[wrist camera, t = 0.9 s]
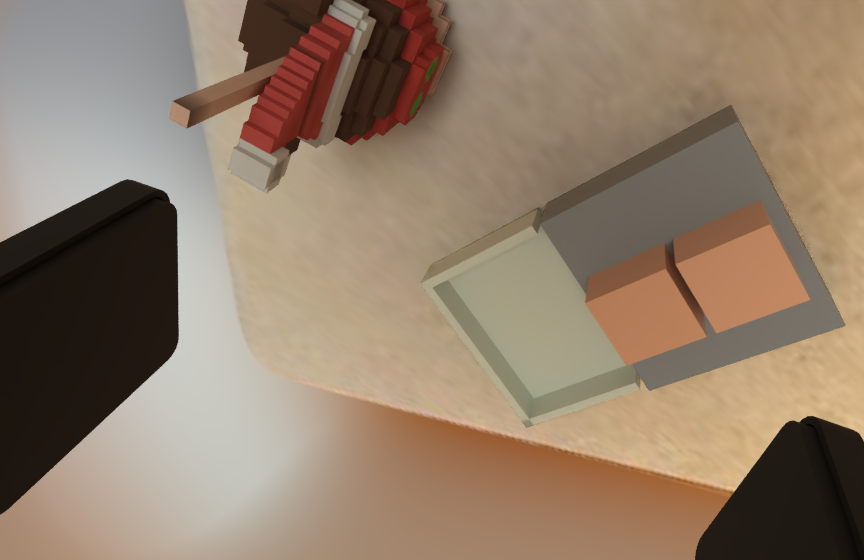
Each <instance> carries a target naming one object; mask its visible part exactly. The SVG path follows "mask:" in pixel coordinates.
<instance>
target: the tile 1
mask: <svg viewBox="0 0 864 560" xmlns="http://www.w3.org/2000/svg"><path fill="white" fill-rule="evenodd" d="M585 304H586V305H587V307H588V308H589V310H590V312H591V313H592V315H593V316H594V318H595V319H596V321H597V322H598V324H599V325H600V327H601V328H602V330H603V331H604V333H605V334H606V336H607V337H608V339H609V340H610V342H611V343H612V345H613V346H614V348H615V349H616V351H617V352H618V354H619V355H620V357H621V359H622V360H623V362H624V363H625V365H626V366H627V365H630V364H633V363H636V362H638V361H641V360H644V359H647V358H650V357H652V356H655V355H658V354H661V353H664V352H666V351H669V350H672V349H675V348H677V347H680V346H683V345H686V344H689V343H691V342H694V341H697V340H700V339H703V338H705V337H707V334H706V327H705V321H704V314H703V310H702V308H701V307H700V305H699V303H698V302H697V300H696V298H695V297H694V295H693V293H692V292H691V290H690V288H689V287H688V285H687V283H686V282H685V280H684V278H683V277H682V275H681V273H680V272H679V270H678V268H677V266H676V265H675V260H674V258H673V257H672V255H671V253H670V252H669V250H668V248H667V247H666V245H665V243H662V244H660V245H657V246H655V247H653V248H651V249H649V250H646V251H644V252H642V253H640V254H637V255H635V256H633V257H631V258H629V259H626V260H624V261H622V262H620V263H617V264H615V265H613V266H611V267H608V268H606V269H604V270H602V271H600V272H597V273H595V274H593V275H591V276H589V280H588V287H587V293H586V300H585Z"/></svg>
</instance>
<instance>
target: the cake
mask: <svg viewBox="0 0 864 560" xmlns="http://www.w3.org/2000/svg"><path fill="white" fill-rule="evenodd" d="M445 5H446V2H444V1H442V0H248V1H247V6H246V10H245V14H244V18H243V23H242V27H241V31H240V35H239V40H238V41H240V42H242V43H243V44H244V47H243V50H244V51H246V52H248V56H247V60H246V61H247V62H246V66H245V70H244V73H242V74H239V75H237V76H234V77H232V78H229V79H227V80H224V81H222V82H219V83H217V84H214V85H212V86H209V87H207V88H204V89H202V90H199V91H197V92H194V93H192V94H189V95H187V96H184V97H182V98H179V99H177V100H174V101H173V102H172V107H171V112H170V117H169V119H170V120H172V121H174V122H176V123H177V124H180V125H181V126H183V127H185V128H189V127H191V126H193V125H195V124H197V123H200V122H202V121H204V120H206V119H208V118H210V117H212V116H214V115H217V114H219V113H221V112H223V111H225V110H227V109H229V108H231V107H234V106H236V105H238V104H240V103H242V102H244V101H246V100H248V99H251V98H253V97H255V96H257V95H259V97H258V101H257V103H256V104H254V105H252V109H251V112H250V116H249V120H248V121H247V122H245V123H244V124H243V128H242V132H241V136H240V139H239V143H238V146H236V147H234V148H233V151H232V155H231V159H230V163H229V167H228V170H230V171H231V174H233V175H235V176H236V177H238V178H240V179H242V180H244V181H245V182H247V183H249V184H251V185H253V186H255V187H256V188H258V189H260V190H262V191H264V192H265V193H268V192H269V191H270V190H272V189H273V188H274V187H276V186H277V185H278V184H279V182H280V179H281V177H282V176H284V175H285V172H286V169H287V166H288V163H289V160H290V156H291V154H292V153H293V152H295V151H296V150H297V149H298V146H299V143H300V140H303V141H304V142H306V143H308V144H310V145H312V146H314V147H315V148H318V147H319V146H320V145H322V144H323V145H326V144H328V143H329V142H331V141H332V140H333V139H334V137H337V138H339V139H341V140H342V141H344V142H346V143H348V144H350V145H353V144H354V143H355V142H356V141H358V140H359V139H360V138H363V139H365V140H368V139H370V138H371V137H372V136H373V135H374V134H376V133H379V134H381V135H382V136H383V135H384V134H385V133H387V132H388V131H389V130H390V129H391V128H392V127H394V126H395V125H396V124H397V123H398V122H400V123H402V124H404V125H406V124H407V123H408V122H409V121H410V120H412V119H413V118H414V117H415V115H416V113H417V111H418V110H419V109H420V106H421V104H422V103H423V102H424V100H425V97H426V95H428V96H431V95H433V94H434V91H435V89H436V87H437V85H438V82H439V80H440V78H441V76H442V73H443V71H444V69H445V67H446V64H447V62H448V60H449V57H450V55H451V53H452V51H453V50H452V49H450V48H448V47H446V46H444V45H443V44H442V43H443V41H444V39H445V36H446V34H447V32H448V29H449V27H450V25H451V22H452V20H450V19H448V18H446V17H444V16H442V15H441V14H442V12H443V9H444V7H445Z"/></svg>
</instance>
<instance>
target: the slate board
mask: <svg viewBox="0 0 864 560" xmlns="http://www.w3.org/2000/svg"><path fill="white" fill-rule="evenodd" d="M758 200H761V202H762V204H763V206H764V208H765V210H766V212H767V213H768V215H769V217H770V219H771V221H772V223H773V225H774V227H775V228H776V230H777V232H778V234H779V236H780V238H781V240H782V242H783V243H784V245H785V247H786V249H787V251H788V253H789V255H790V257H791V258H792V260H793V262H794V264H795V266H796V268H797V270H798V272H799V274H800V276H801V279H802V281H803V283H804V286H805V288H806V290H807V293H808V295H809V297H810V300H809V301H806V302H803V303H800V304H797V305H795V306H792V307H789V308H786V309H783V310H781V311H778V312H775V313H772V314H769V315H767V316H764V317H761V318H758V319H756V320H753V321H750V322H747V323H744V324H742V325H739V326H736V327H733V328H730V329H728V330H725V331H722V332H719V333H716V332H715V330H714V328H713V327H712V325H711V323H710V322H709V320H708V318H707V317H706V315H705V313H704V312H703V314H704V321H705V327H706V334H707V337H705V338H703V339H700V340H697V341H694V342H691V343H689V344H686V345H683V346H680V347H677V348H675V349H672V350H669V351H666V352H664V353H661V354H658V355H655V356H652V357H650V358H647V359H644V360H641V361H638V362H636V363H633V364H632V365H633V367H634V368H635V370H636V371H637V373H638V374H639V376H640V377H641V379H642V380H643V382H644V384H645V385H646V387H647V388H648V390H649V391H650V390H653V389H656V388H659V387H662V386H665V385H668V384H671V383H674V382H677V381H680V380H683V379H686V378H689V377H692V376H695V375H698V374H701V373H704V372H707V371H711V370H714V369H717V368H720V367H723V366H726V365H729V364H732V363H735V362H738V361H741V360H744V359H747V358H750V357H753V356H756V355H759V354H762V353H765V352H768V351H771V350H774V349H777V348H780V347H783V346H786V345H789V344H792V343H795V342H798V341H801V340H804V339H807V338H810V337H813V336H816V335H819V334H822V333H825V332H828V331H831V330H834V329H837V328H840V327H843V326H846V325H845V323H844V321H843V319H842V317H841V315H840V313H839V311H838V309H837V307H836V305H835V303H834V301H833V299H832V297H831V295H830V293H829V291H828V289H827V287H826V285H825V283H824V282H823V280H822V278H821V276H820V274H819V272H818V270H817V268H816V266H815V264H814V262H813V261H812V259H811V257H810V255H809V253H808V251H807V249H806V247H805V245H804V243H803V241H802V240H801V238H800V236H799V234H798V232H797V230H796V228H795V226H794V224H793V222H792V220H791V219H790V217H789V215H788V213H787V211H786V209H785V207H784V205H783V203H782V201H781V199H780V198H779V196H778V194H777V192H776V190H775V188H774V186H773V184H772V182H771V180H770V178H769V177H768V175H767V173H766V171H765V169H764V167H763V165H762V163H761V161H760V159H759V157H758V156H757V154H756V152H755V150H754V148H753V146H752V144H751V142H750V140H749V138H748V136H747V135H746V133H745V131H744V129H743V127H742V125H741V123H740V121H739V119H738V117H737V115H736V114H735V112H734V110H733V108H732V106H731V105H730V106H728V107H727V108H725V109H723V110H721V111H719V112H717V113H715V114H713V115H712V116H710V117H708V118H706V119H704V120H702V121H700V122H698V123H697V124H695V125H693V126H691V127H689V128H687V129H685V130H683V131H682V132H680V133H678V134H676V135H674V136H672V137H670V138H668V139H667V140H665V141H663V142H661V143H659V144H657V145H655V146H653V147H652V148H650V149H648V150H646V151H644V152H642V153H640V154H638V155H637V156H635V157H633V158H631V159H629V160H627V161H625V162H623V163H622V164H620V165H618V166H616V167H614V168H612V169H610V170H608V171H607V172H605V173H603V174H601V175H599V176H597V177H595V178H593V179H592V180H590V181H588V182H586V183H584V184H582V185H580V186H578V187H577V188H575V189H573V190H571V191H569V192H567V193H565V194H563V195H562V196H560V197H558V198H556V199H554V200H552V201H550V202H548V203H547V204H546V207H545V210H544V213H543V216H542V219H541V222H540V225H541V227H542V228H543V230H544V231H545V233H546V234H547V236H548V237H549V239H550V240H551V242H552V243H553V245H554V246H555V248H556V249H557V251H558V252H559V254H560V256H561V257H562V259H563V260H564V262H565V263H566V265H567V266H568V268H569V269H570V271H571V272H572V274H573V275H574V277H575V278H576V280H577V281H578V283H579V284H580V286H581V288H582V289H583V291H584V292H585V294H586V293H587V287H588V280H589V276H591V275H593V274H595V273H597V272H600V271H602V270H604V269H606V268H608V267H611V266H613V265H615V264H617V263H620V262H622V261H624V260H626V259H629V258H631V257H633V256H635V255H637V254H640V253H642V252H644V251H646V250H649V249H651V248H653V247H655V246H657V245H660V244H662V243H665V245H666V247H667V248H668V250H669V252H670V253H671V255H672V257H673V258H674V260H675V255H674V243H673V238H675V237H677V236H680V235H682V234H684V233H686V232H689V231H691V230H693V229H695V228H698V227H700V226H702V225H704V224H706V223H709V222H711V221H713V220H715V219H718V218H720V217H722V216H724V215H726V214H729V213H731V212H733V211H735V210H738V209H740V208H742V207H744V206H746V205H749V204H751V203H753V202H755V201H758Z"/></svg>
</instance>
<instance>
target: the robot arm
mask: <svg viewBox="0 0 864 560" xmlns="http://www.w3.org/2000/svg"><path fill="white" fill-rule="evenodd" d="M178 329H179V328H178V246H177V211H176V208H175V206H174V205H173V204H171V203H170V200H169V197H168V195H167V194H166V193H165V192H164V191H162V190H159V189H156V188H153V187H151V186H148V185H145V184H142V183H139V182H136V181H133V180H128V179H127V180H124V181H121V182H119V183H117V184H115V185H113V186H111V187H109V188H107V189H105V190H103V191H101V192H99V193H97V194H95V195H93V196H91V197H89V198H87V199H85V200H83V201H81V202H79V203H77V204H75V205H73V206H71V207H69V208H67V209H65V210H63V211H61V212H59V213H57V214H56V215H54V216H52V217H50V218H48V219H46V220H44V221H42V222H40V223H38V224H36V225H34V226H32V227H30V228H28V229H26V230H24V231H22V232H20V233H18V234H16V235H14V236H12V237H10V238H8V239H6V240H4V241H2V242H0V514H2V513H3V512H5V511H6V510H7V509H9V508H10V507H11V506H12V505H13V504H14V503H15V502H16V501H17V500H19V499H20V498H21V496H23V495H24V494H25V493H26V492H27V491H28V490H29V489H30V488H31V487H32V486H34V485H35V484H36V483H37V482H38V481H39V480H40V479H41V478H42V477H43V476H44V475H45V474H46V473H47V472H49V470H50V469H52V468H53V467H54V466H55V465H56V464H57V463H58V462H59V461H60V460H61V459H62V458H64V456H66V455H67V454H68V453H69V452H70V451H71V450H72V449H73V448H74V447H75V446H76V445H77V444H79V443H80V442H81V441H82V440H83V439H84V438H85V437H86V436H87V435H88V434H89V433H90V432H91V431H92V430H94V429H95V428H96V427H97V426H98V425H99V424H100V423H101V422H102V421H103V420H104V419H105V418H106V417H107V416H109V414H111V413H112V412H113V411H114V410H115V409H116V408H117V407H118V406H119V405H120V404H121V403H122V402H124V401H125V400H126V399H127V398H128V397H129V396H130V395H131V394H132V393H133V392H134V391H135V390H136V389H137V388H139V387H140V386H141V385H142V384H143V383H144V382H145V381H146V380H147V379H148V378H149V377H150V376H151V375H152V374H154V373H155V372H156V371H157V370H158V369H159V368H160V367H161V366H162V365H163V364H164V363H165V362H166V361H167V360H168V359H169V358H170V357H171V356H172V354H173V353H174V351H175V349H176V347H177V343H178V337H179V330H178ZM695 560H864V441H863V439H862V437H861V436H860V434H859V433H857V432H856V431H854V430H851V429H849V428H846V427H843V426H840V425H837V424H834V423H831V422H828V421H825V420H823V419H820V418H817V417H814V416H808V417H806V418H804V419H802V420H801V421H800V422H796V421H789V422H788V423H786V424H785V425H784V426H783V427H782V429H781V430H780V431H779V433H778V434H777V435H776V437H775V438H774V439H773V441H772V442H771V443H770V445H769V446H768V447H767V449H766V450H765V451H764V453H763V454H762V455H761V457H760V458H759V460H758V461H757V462H756V464H755V465H754V466H753V468H752V469H751V470H750V472H749V473H748V474H747V476H746V477H745V478H744V480H743V481H742V482H741V484H740V485H739V486H738V488H737V489H736V490H735V492H734V493H733V495H732V496H731V497H730V499H729V500H728V501H727V503H726V504H725V505H724V507H723V508H722V509H721V511H720V512H719V513H718V515H717V516H716V517H715V519H714V520H713V521H712V523H711V524H710V525H709V527H708V528H707V530H706V531H705V532H704V534H703V535H702V537H701V538H700V540H699V543H698V546H697V550H696V556H695Z"/></svg>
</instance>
